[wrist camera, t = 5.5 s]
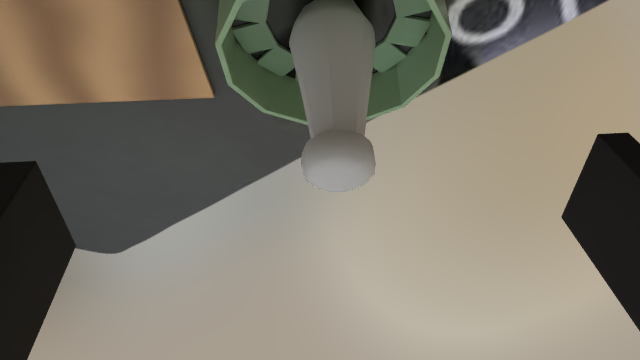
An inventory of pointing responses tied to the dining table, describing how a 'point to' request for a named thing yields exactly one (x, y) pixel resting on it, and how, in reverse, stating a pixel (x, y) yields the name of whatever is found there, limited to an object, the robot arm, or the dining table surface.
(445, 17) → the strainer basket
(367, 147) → the salt shaker
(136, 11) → the wooden board
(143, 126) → the dining table surface
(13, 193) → the robot arm
